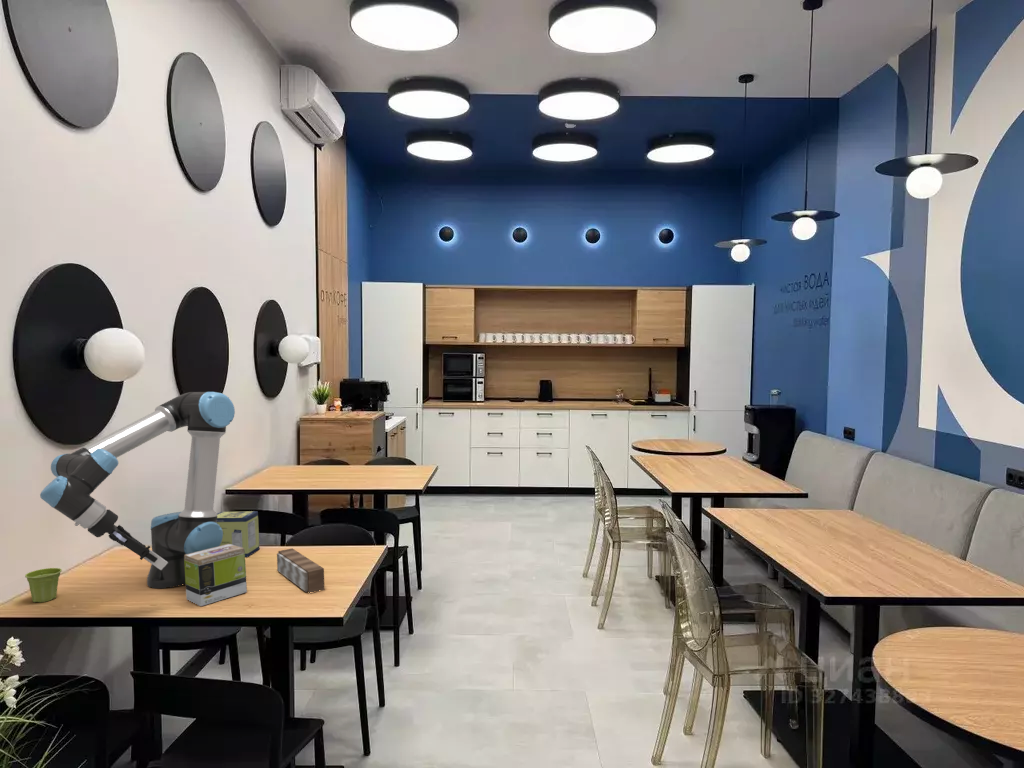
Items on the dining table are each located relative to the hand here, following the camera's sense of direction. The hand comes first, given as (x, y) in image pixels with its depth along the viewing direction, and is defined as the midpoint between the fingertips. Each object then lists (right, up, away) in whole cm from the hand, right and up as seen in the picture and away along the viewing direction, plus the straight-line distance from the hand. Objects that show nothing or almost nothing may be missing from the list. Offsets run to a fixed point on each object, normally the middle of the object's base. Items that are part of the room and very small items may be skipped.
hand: (164, 565), depth 191 cm
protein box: (-3, -12, +56) cm, 58 cm away
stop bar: (+33, -12, +24) cm, 43 cm away
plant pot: (-43, -14, +10) cm, 47 cm away
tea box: (+11, -13, +10) cm, 20 cm away
